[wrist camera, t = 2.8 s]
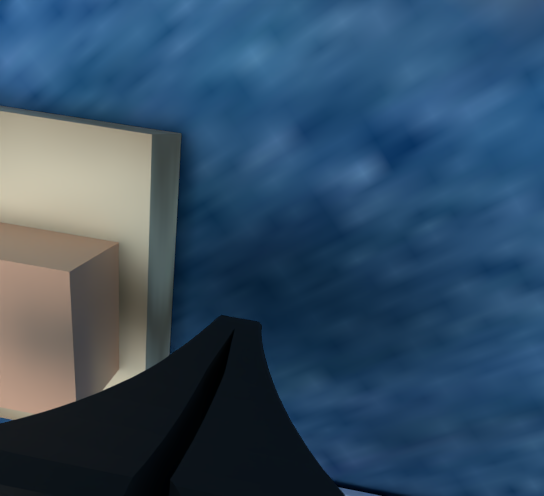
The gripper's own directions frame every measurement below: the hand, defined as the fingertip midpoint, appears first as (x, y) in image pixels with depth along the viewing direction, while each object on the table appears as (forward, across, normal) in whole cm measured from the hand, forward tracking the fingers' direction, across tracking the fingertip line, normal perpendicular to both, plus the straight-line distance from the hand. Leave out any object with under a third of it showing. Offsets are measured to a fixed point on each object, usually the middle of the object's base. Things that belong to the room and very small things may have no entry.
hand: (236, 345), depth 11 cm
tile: (+1, +7, 0) cm, 7 cm away
